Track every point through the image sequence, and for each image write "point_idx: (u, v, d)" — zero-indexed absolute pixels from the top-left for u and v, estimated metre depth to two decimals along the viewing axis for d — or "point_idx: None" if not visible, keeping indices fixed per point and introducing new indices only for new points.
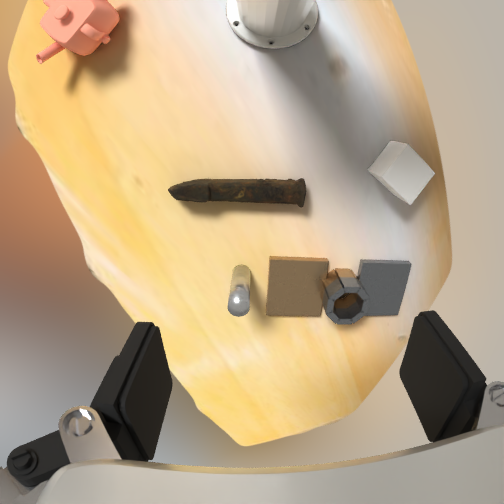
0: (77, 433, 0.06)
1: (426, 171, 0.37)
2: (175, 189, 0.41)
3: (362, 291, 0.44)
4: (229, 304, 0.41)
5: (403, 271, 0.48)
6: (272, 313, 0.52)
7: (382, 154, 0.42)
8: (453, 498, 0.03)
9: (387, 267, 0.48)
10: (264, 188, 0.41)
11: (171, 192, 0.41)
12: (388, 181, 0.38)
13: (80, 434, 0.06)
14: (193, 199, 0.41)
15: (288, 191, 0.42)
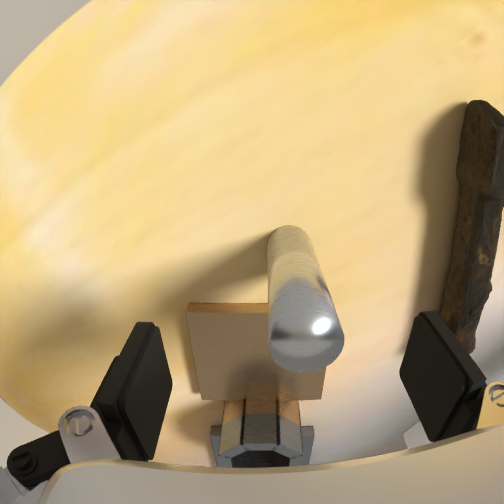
0: (77, 433, 0.06)
1: None
2: None
3: None
4: (320, 318, 0.11)
5: None
6: (192, 324, 0.22)
7: None
8: (453, 498, 0.03)
9: (302, 458, 0.28)
10: (484, 297, 0.18)
11: (501, 116, 0.13)
12: None
13: (80, 434, 0.06)
14: (495, 166, 0.14)
15: (469, 334, 0.19)
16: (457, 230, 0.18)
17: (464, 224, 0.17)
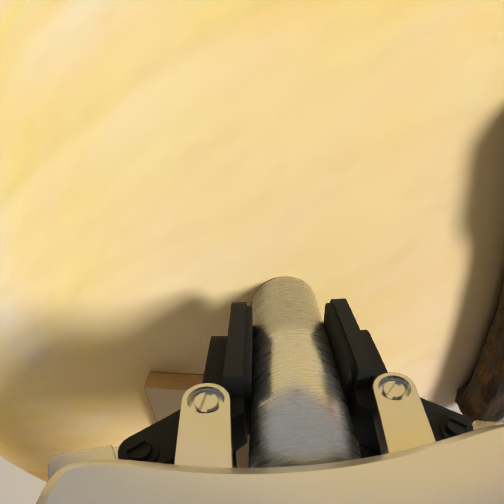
0: (199, 409, 0.07)
1: None
2: None
3: None
4: None
5: None
6: (154, 400, 0.15)
7: None
8: (453, 498, 0.03)
9: None
10: None
11: None
12: None
13: (202, 411, 0.07)
14: None
15: None
16: None
17: None
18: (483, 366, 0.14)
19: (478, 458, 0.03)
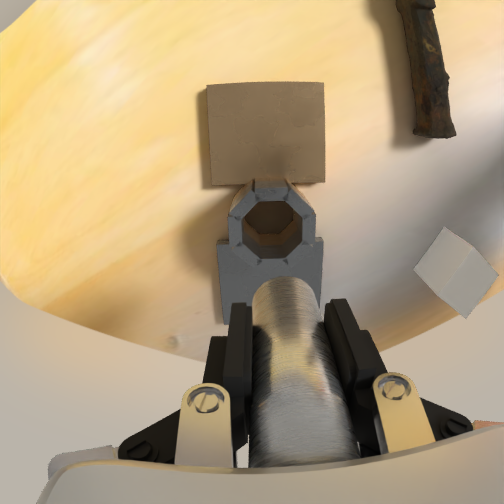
0: (199, 409, 0.07)
1: (469, 306, 0.27)
2: None
3: (305, 251, 0.25)
4: None
5: None
6: (211, 95, 0.25)
7: None
8: (453, 498, 0.03)
9: (313, 284, 0.31)
10: (444, 79, 0.21)
11: None
12: (468, 256, 0.25)
13: (202, 411, 0.07)
14: None
15: (444, 113, 0.23)
16: (407, 39, 0.22)
17: (409, 30, 0.21)
18: (417, 95, 0.24)
19: (478, 458, 0.03)
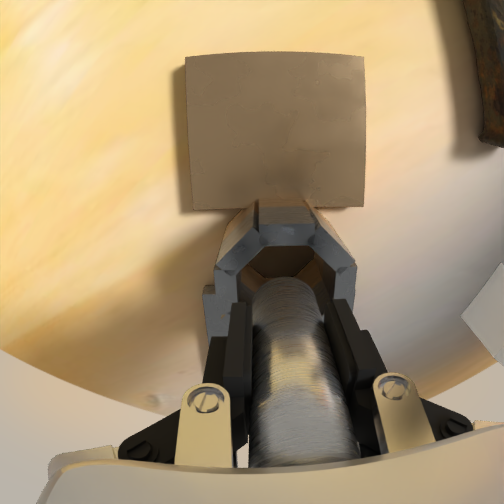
0: (199, 409, 0.07)
1: None
2: None
3: None
4: None
5: None
6: (191, 72, 0.15)
7: None
8: (453, 498, 0.03)
9: None
10: None
11: None
12: None
13: (202, 411, 0.07)
14: None
15: None
16: (467, 11, 0.12)
17: (471, 0, 0.11)
18: (485, 88, 0.14)
19: (478, 458, 0.03)
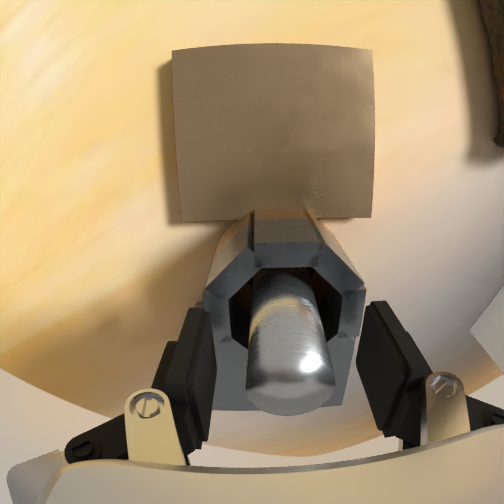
0: (142, 415, 0.07)
1: None
2: None
3: (341, 347, 0.13)
4: (307, 361, 0.09)
5: None
6: (179, 67, 0.13)
7: None
8: (453, 498, 0.03)
9: (340, 364, 0.20)
10: None
11: None
12: None
13: (145, 416, 0.07)
14: None
15: None
16: (482, 5, 0.11)
17: None
18: (502, 88, 0.12)
19: (478, 458, 0.03)
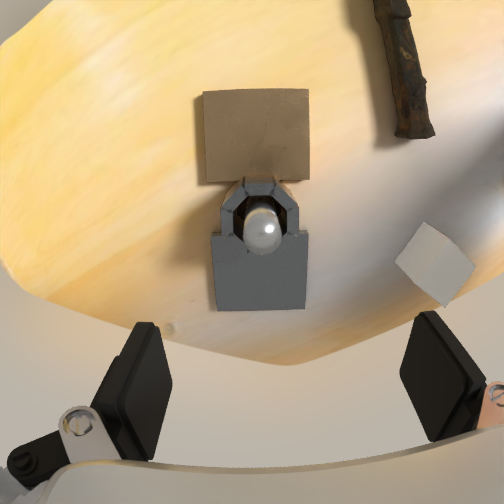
0: (77, 433, 0.06)
1: (448, 296, 0.30)
2: None
3: (289, 240, 0.28)
4: (268, 221, 0.23)
5: (293, 299, 0.35)
6: (206, 101, 0.27)
7: None
8: (453, 498, 0.03)
9: (300, 274, 0.34)
10: (421, 84, 0.24)
11: None
12: (444, 248, 0.28)
13: (80, 434, 0.06)
14: None
15: (422, 115, 0.26)
16: (386, 48, 0.25)
17: (387, 40, 0.24)
18: (397, 101, 0.27)
19: (478, 458, 0.03)
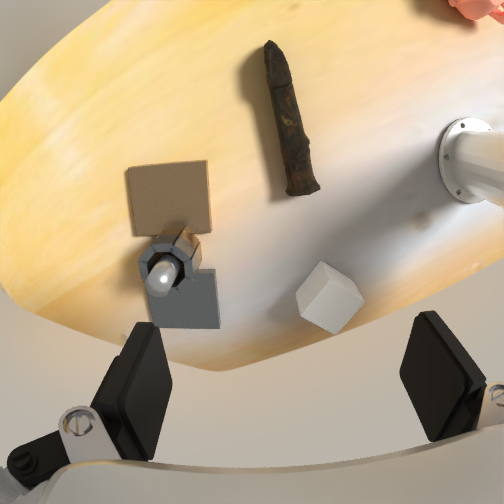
0: (77, 433, 0.06)
1: (337, 326, 0.39)
2: (277, 47, 0.29)
3: (188, 283, 0.37)
4: (159, 275, 0.32)
5: (209, 321, 0.45)
6: (131, 175, 0.37)
7: (340, 274, 0.42)
8: (453, 498, 0.03)
9: (211, 302, 0.44)
10: (302, 146, 0.34)
11: (272, 43, 0.29)
12: (325, 287, 0.37)
13: (80, 434, 0.06)
14: (270, 69, 0.30)
15: (304, 175, 0.35)
16: None
17: (273, 108, 0.33)
18: (284, 162, 0.36)
19: (478, 458, 0.03)
